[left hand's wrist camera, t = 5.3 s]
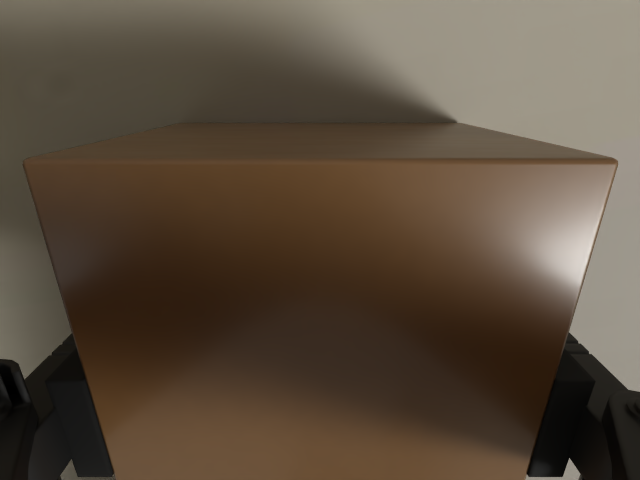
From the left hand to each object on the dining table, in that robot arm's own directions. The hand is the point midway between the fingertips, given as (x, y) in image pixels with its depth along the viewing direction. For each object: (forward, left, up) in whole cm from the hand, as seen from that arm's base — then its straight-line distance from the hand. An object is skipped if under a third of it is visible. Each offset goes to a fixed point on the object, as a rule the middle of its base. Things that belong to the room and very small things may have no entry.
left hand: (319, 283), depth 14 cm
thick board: (+2, -19, -1) cm, 20 cm away
